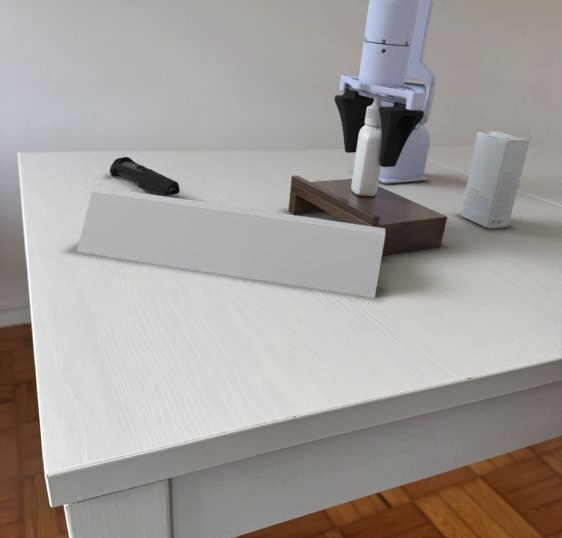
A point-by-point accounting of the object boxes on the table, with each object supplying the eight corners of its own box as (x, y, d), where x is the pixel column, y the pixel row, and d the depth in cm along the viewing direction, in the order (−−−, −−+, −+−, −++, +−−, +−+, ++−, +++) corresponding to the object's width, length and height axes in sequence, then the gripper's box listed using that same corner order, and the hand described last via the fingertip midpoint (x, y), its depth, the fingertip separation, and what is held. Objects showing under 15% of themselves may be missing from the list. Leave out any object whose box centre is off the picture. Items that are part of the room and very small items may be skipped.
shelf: (356, 204, 89) (361, 170, 86) (440, 246, 76) (449, 208, 73) (288, 211, 83) (291, 175, 81) (366, 258, 70) (373, 217, 68)
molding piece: (367, 324, 72) (380, 247, 74) (374, 299, 61) (389, 208, 63) (114, 283, 76) (132, 210, 78) (76, 251, 65) (98, 167, 66)
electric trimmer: (162, 205, 82) (162, 182, 80) (107, 175, 91) (106, 154, 89) (186, 201, 84) (186, 179, 82) (129, 173, 93) (129, 152, 92)
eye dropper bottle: (386, 190, 82) (402, 97, 76) (370, 199, 78) (386, 100, 72) (357, 184, 84) (370, 92, 78) (340, 192, 79) (353, 95, 73)
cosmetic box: (509, 227, 86) (534, 140, 79) (485, 229, 84) (509, 140, 78) (479, 213, 90) (501, 130, 84) (456, 215, 88) (477, 130, 82)
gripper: (326, 36, 75) (314, 147, 82) (401, 48, 65) (380, 175, 71) (370, 39, 78) (355, 145, 85) (448, 51, 68) (423, 171, 75)
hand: (369, 158), depth 79 cm, fingers open, 7 cm apart
